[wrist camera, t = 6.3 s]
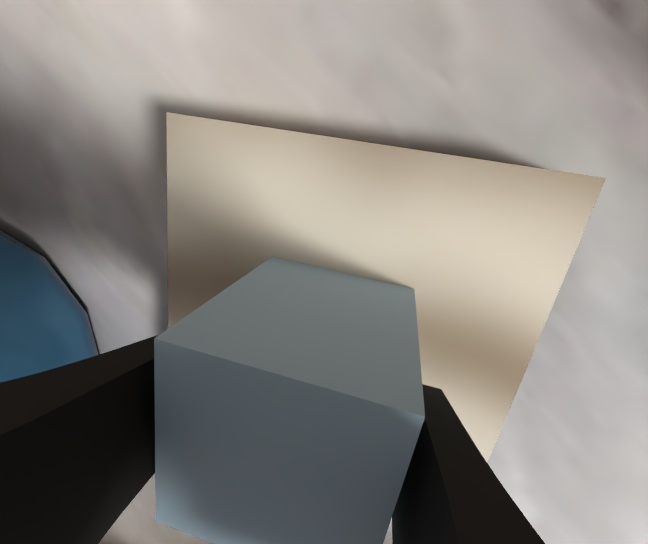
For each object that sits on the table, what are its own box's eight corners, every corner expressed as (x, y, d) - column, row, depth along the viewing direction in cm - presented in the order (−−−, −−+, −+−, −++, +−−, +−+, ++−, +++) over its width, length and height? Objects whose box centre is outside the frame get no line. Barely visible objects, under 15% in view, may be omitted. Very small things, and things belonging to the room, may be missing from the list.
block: (381, 408, 12) (363, 601, 6) (259, 372, 12) (155, 521, 7) (414, 288, 10) (425, 416, 5) (273, 256, 11) (154, 338, 6)
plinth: (454, 461, 14) (464, 518, 12) (202, 387, 16) (169, 423, 14) (561, 175, 10) (605, 177, 8) (210, 121, 12) (166, 112, 10)
